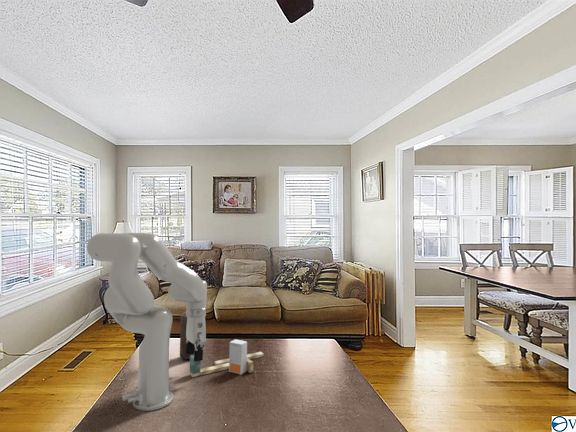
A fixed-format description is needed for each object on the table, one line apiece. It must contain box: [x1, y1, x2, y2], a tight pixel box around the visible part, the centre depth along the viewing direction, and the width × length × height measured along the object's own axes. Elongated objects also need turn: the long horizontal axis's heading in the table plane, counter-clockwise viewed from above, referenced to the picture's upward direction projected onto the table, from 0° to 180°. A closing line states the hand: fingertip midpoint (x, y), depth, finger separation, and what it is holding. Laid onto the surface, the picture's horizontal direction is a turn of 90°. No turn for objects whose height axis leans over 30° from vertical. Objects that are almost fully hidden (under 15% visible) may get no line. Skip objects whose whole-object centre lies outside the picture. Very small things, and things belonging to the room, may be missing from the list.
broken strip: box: [214, 351, 265, 366], centre depth 159 cm, size 22×3×1 cm, turn 123°
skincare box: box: [228, 338, 248, 376], centre depth 147 cm, size 6×4×12 cm
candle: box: [179, 311, 195, 360], centre depth 161 cm, size 8×7×20 cm
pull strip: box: [189, 355, 254, 378], centre depth 145 cm, size 22×11×7 cm, turn 123°
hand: (193, 357), depth 142 cm, fingers open, 9 cm apart
